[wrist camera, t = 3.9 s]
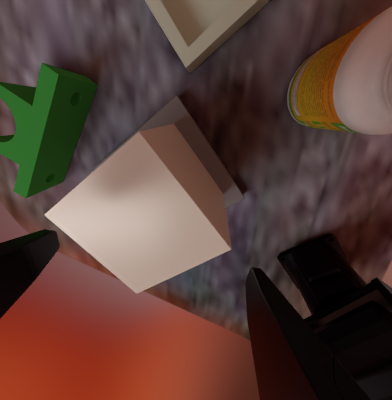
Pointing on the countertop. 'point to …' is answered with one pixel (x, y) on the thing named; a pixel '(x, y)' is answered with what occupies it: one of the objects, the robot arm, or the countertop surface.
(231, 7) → the tray
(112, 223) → the plain beige box
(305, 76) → the supplement bottle
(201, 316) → the countertop surface
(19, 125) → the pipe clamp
